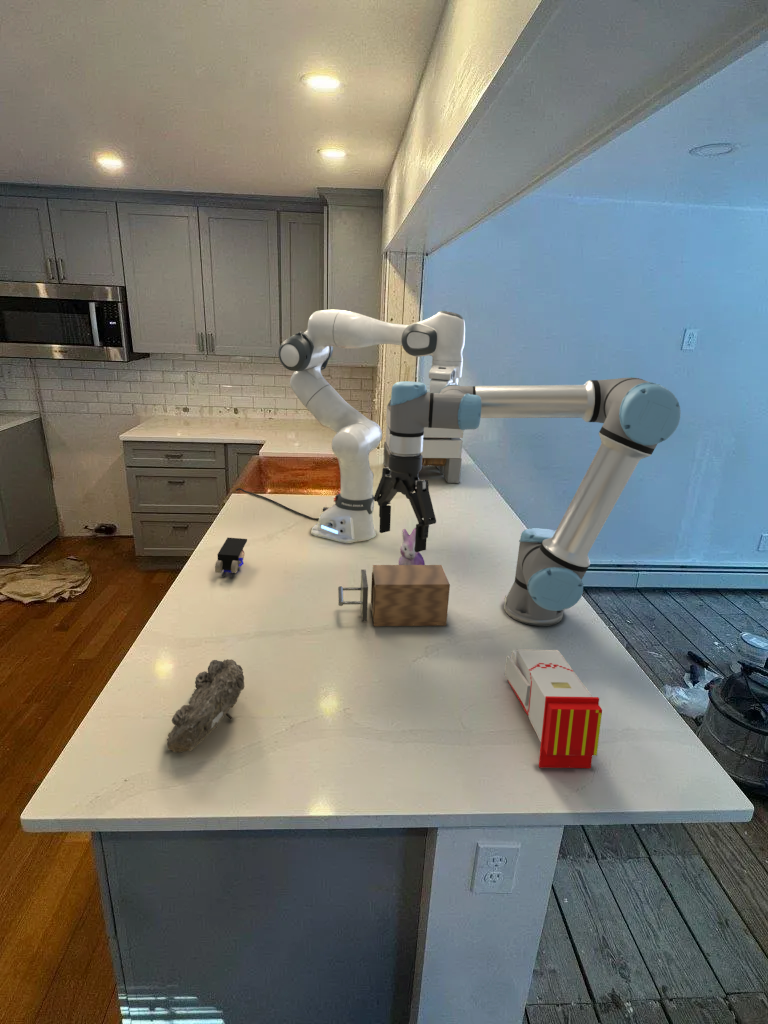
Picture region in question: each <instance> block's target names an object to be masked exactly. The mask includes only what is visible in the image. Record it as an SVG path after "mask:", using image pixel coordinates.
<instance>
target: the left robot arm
mask: <svg viewBox="0 0 768 1024" xmlns="http://www.w3.org/2000/svg"><path fill="white" fill-rule="evenodd" d="M465 341H466V323H465V318H464V317H463V316H462V315H461V314H459V313H456V312H454V311H453V312H452V311H447V310H440V311H438V312H437V313H436V314H434V315H432V316H430V317H428V318H426V319H424V320H423V319H422V320H420V321H416V322H413V323H411V324H402V323H394V322H387V321H384V320H380V319H377V318H374V317H370V316H368V315H365V314H362V313H358V312H355V311H350V310H345V309H321V310H316V311H313V312H312V314H311V315H310V316H309V318H308V321H307V328H306V330H305V331H304V332H302V331H298V332H296V333H295V334H293V335H291V336H289V337H287V338H286V339H284V340H283V341H282V342H281V344H280V345H279V347H278V358H279V361H280V364H281V365H282V366H283V367H284V368H285V369H286V370H288V371H292V372H293V373H292V374H291V375H290V378H289V386H290V389H292V391H293V393H294V394H295V396H296V397H297V399H298V400H299V401H300V402H301V404H302V405H303V406H304V407H305V408H306V410H307V411H308V412H309V413H310V414H311V415H312V416H313V417H314V418H315V419H316V421H318V423H319V424H321V426H323V427H325V428H328V429H329V430H331V431H333V432H334V433H335V434H334V436H333V437H332V440H331V450H332V452H333V455H334V456H335V457H336V458H337V462H338V467H339V473H340V475H339V476H340V488H339V489H340V490H339V491H338V492H337V494H336V495H335V496H334V497H333V502H334V504H333V505H331V506H329V507H325V506H324V507H323V508H322V512H321V514H320V515H319V517H311V516H309V515H307V514H304V513H302V512H299V511H296V510H295V509H293V508H291V507H288V506H285V505H283V504H282V503H279V502H278V501H275V500H273V499H271V498H268V497H266V496H263V495H260V494H257V493H255V492H251V491H248V490H245V489H243V488H240V487H238V488H236V489H235V491H236V492H237V491H241V492H243V493H246V494H248V495H253V496H256V497H258V498H261V499H264V500H266V501H269V502H271V503H274V504H276V505H278V506H279V507H282V508H284V509H285V510H288V511H290V512H292V513H294V514H297V515H299V516H302V517H305V518H307V519H309V520H312V521H317V523H315V524H314V525H313V526H312V528H311V530H310V533H311V536H315V537H319V538H323V539H326V540H330V541H336V542H339V543H343V544H352V543H357V542H365V541H368V540H372V539H373V538H375V537H376V535H377V532H376V528H375V523H374V513H373V512H374V509H375V501H374V496H375V495H374V472H373V471H372V468H371V465H370V464H371V463H370V460H369V459H370V453H371V452H372V451H374V450H376V449H377V448H378V446H379V445H380V443H381V441H382V439H383V431H382V428H381V425H379V424H378V423H377V422H376V421H374V420H371V419H370V418H368V417H366V415H364V414H363V413H362V412H360V411H359V410H357V409H356V408H355V407H353V406H352V405H351V404H350V403H348V402H347V401H346V400H345V399H344V398H343V397H342V396H341V395H340V393H339V392H338V391H337V390H336V389H335V388H334V387H333V386H332V385H331V384H330V383H329V382H328V380H327V379H326V378H325V377H324V375H323V374H322V371H323V370H325V369H326V368H327V365H328V363H329V361H330V360H331V358H332V356H333V352H334V347H335V348H341V349H362V348H367V347H371V346H372V347H373V346H379V345H394V346H402V348H403V350H404V352H405V353H406V354H408V355H409V356H412V357H415V358H416V357H417V358H421V357H427V356H431V357H432V358H431V359H432V360H431V366H430V367H431V368H430V369H429V371H428V379H430V381H429V392H430V393H439V392H440V390H441V389H442V388H443V387H445V386H447V385H451V384H456V385H459V379H460V378H462V374H463V364H464V358H463V350H464V348H465V344H466V343H465Z"/></svg>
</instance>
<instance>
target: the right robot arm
mask: <svg viewBox="0 0 768 1024" xmlns="http://www.w3.org/2000/svg"><path fill="white" fill-rule="evenodd" d="M390 400H391V403H390V436H389V451H390V452H391V453H390V454H389V467H387V466H385V467H383V468H382V472H381V478H380V480H379V483H378V485H377V488H376V490H375V494H374V495H373V496H374V502H376V503H377V505H378V507H379V509H378V516H379V528H378V529H379V532H378V533H380V534H383V533H387V532H390V531H391V519H392V518H391V517H392V503H391V502H392V500H393V498H395V496H396V495H397V494H398V493H401V495H404V496H405V498H406V499H408V501H409V503H410V505H411V508H412V511H413V513H414V515H415V518H416V520H417V523H416V524H415V528H416V536H415V552H419V553H421V552H423V551H427V541H428V540H427V539H428V538H429V530H430V529H429V528H430V525H435V524H436V523H437V518H436V514H435V511H434V506H433V503H432V498H431V494H430V490H429V489H430V488H429V480H428V479H420V478H419V473H420V472H421V470H423V469H422V468H423V466H422V455H421V452H422V451H423V435H424V427H428V428H446V429H461V430H464V431H465V430H477V429H478V428H479V427H480V423H481V419H582V420H583V421H584V422H585V423H598V424H602V425H601V428H600V429H599V432H598V436H599V439H600V445H599V447H598V449H597V451H596V453H595V455H594V457H593V459H592V461H591V463H590V465H589V467H588V468H587V470H586V472H585V474H584V476H583V478H582V480H581V481H580V484H579V485H578V487H577V490H576V491H575V493H574V495H573V497H572V499H571V501H570V502H569V504H568V507H567V509H566V510H565V512H564V514H563V516H562V518H561V519H560V522H559V523H558V526H557V528H556V530H554V529H549V528H541V527H540V528H538V527H533V528H527V529H524V530H522V532H521V534H520V539H519V541H518V542H519V546H518V553H517V560H516V566H515V567H516V568H515V576H514V582H513V584H512V586H511V588H510V589H509V591H508V593H507V595H505V596H504V598H503V600H504V604H503V605H504V606H503V609H504V612H505V613H506V614H507V615H508V616H509V617H510V618H512V619H513V620H515V621H517V622H519V623H522V624H526V625H529V626H537V627H550V626H554V625H556V624H558V623H559V624H560V623H561V621H562V620H563V618H564V610H568V609H570V608H572V607H574V606H575V605H577V603H578V602H579V601H580V600H581V598H582V597H583V593H584V582H583V578H584V576H585V574H586V573H587V572H588V569H589V567H590V566H591V560H590V558H589V553H590V551H591V549H592V547H593V546H594V544H595V542H596V540H597V538H598V536H599V534H600V533H601V531H602V529H603V527H604V526H605V523H606V522H607V520H608V518H609V516H610V515H611V513H612V511H613V510H614V508H615V506H616V505H617V502H618V500H619V498H620V497H621V495H622V493H623V491H624V489H625V488H626V486H627V484H628V482H629V480H630V478H631V477H632V475H633V474H634V472H635V469H637V466H638V464H639V462H640V461H641V460H643V459H646V458H648V457H652V454H653V453H654V451H655V449H656V448H657V446H658V444H660V443H662V442H665V441H666V440H668V439H670V437H671V436H673V434H674V433H675V432H676V431H677V428H678V427H679V424H680V421H681V415H682V413H681V411H682V410H681V406H680V403H679V401H678V398H677V397H676V396H675V394H674V393H673V392H672V391H671V390H669V389H668V388H666V386H663V385H662V384H659V383H656V382H651V381H647V380H645V379H642V378H639V377H632V376H631V377H620V378H619V377H618V378H610V379H609V378H607V379H589V380H587V381H585V383H584V384H540V385H539V384H537V385H536V384H535V385H533V384H532V385H531V384H530V385H528V384H527V385H526V384H525V385H459V384H458V385H456V384H451V385H447V386H445V387H443V388H442V389H441V390H440V392H439V393H430V391H428V390H427V385H426V384H425V383H424V382H420V381H412V380H411V381H409V380H407V381H403V380H402V381H397V382H395V383H393V385H392V386H391V395H390ZM429 402H430V405H429ZM428 421H429V423H428ZM391 481H392V482H391ZM390 504H391V505H390Z"/></svg>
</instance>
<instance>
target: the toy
mask: <svg viewBox="0 0 768 1024" xmlns="http://www.w3.org/2000/svg"><path fill="white" fill-rule="evenodd" d="M505 659H506V660H505V667H504V676H505V677H506V679H507V682H508V684H509V686H510V688H511V689H512V691H513V693H514V694H515V696H516V698H517V700H518V701H519V703H520V705H521V707H522V708H523V710H524V712H525V714H526V715H527V716H528V719H529V722H530V724H531V725H532V727H533V730H534V731H535V733H536V736H537V738H538V740H539V742H540V750H539V757H538V767H539V768H541V769H543V768H546V769H547V768H548V769H551V768H552V769H591V768H592V762H593V756H597V755H598V749H599V740H600V733H601V732H600V731H601V724H602V714H603V709H602V707H601V705H599V703H600V698H599V697H598V696H593V695H592V694H591V692H590V691H589V689H587V687H586V686H585V684H584V683H583V682H582V680H581V679H580V678H579V676H578V675H577V673H576V672H575V671H574V670H573V668H572V667H571V666H570V664H569V663H568V661H567V660H566V658H565V657H564V655H562V653H561V652H560V651H559V650H558V649H521V648H520V649H519V648H517V649H512V650H511V655H506V658H505Z"/></svg>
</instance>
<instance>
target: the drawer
mask: <svg viewBox="0 0 768 1024" xmlns="http://www.w3.org/2000/svg"><path fill="white" fill-rule="evenodd" d="M368 583H369V582H368V576H367V570H366V569H360V587H343V586H340V585H339V586H338V587H337V600H338V602H337V603H338V606H340V607H342V606H345V605H348V606H349V605H359V606H360V615H361V622H368V604H369V603H368V600H369V599H368V598H369V597H368V596H369V585H368ZM370 585H371V586H370V587H371V589H370V608H371V614H372V619H373V618H374V607H375V581H374V575H373V572H371V584H370ZM344 591H360V592H359V593H360V594H359V600H358V601H357V600H356V601H355V600H354V601H351V600H349V601H345V600H344Z"/></svg>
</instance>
